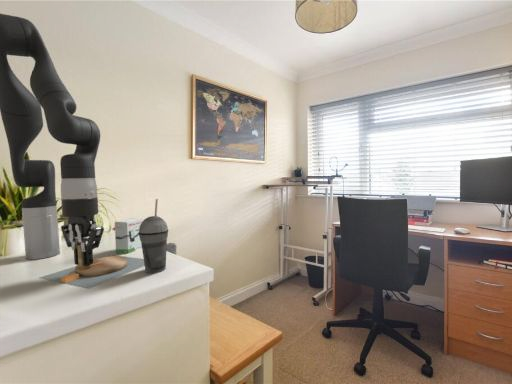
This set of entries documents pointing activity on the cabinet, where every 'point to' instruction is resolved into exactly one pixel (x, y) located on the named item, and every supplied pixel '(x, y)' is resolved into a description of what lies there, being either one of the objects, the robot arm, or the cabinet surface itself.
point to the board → (87, 282)
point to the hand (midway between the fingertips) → (84, 264)
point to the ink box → (127, 235)
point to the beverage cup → (154, 242)
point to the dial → (100, 265)
